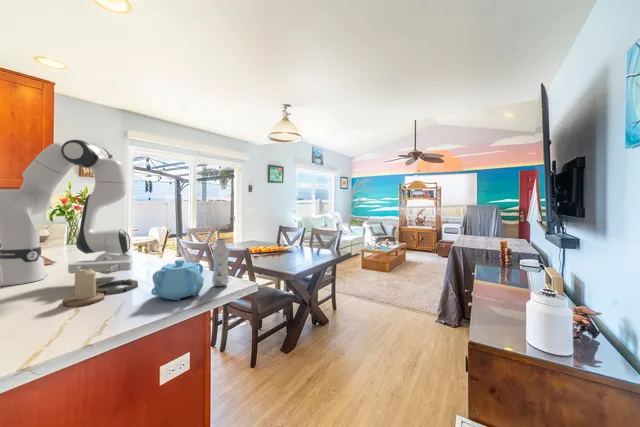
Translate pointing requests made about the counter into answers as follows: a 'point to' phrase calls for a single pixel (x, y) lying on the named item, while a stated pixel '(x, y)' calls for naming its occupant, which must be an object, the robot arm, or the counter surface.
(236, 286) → the counter surface
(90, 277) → the candle
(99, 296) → the coaster
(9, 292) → the counter surface
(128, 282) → the collar
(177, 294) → the decorative pot
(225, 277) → the plastic bottle
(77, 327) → the counter surface
